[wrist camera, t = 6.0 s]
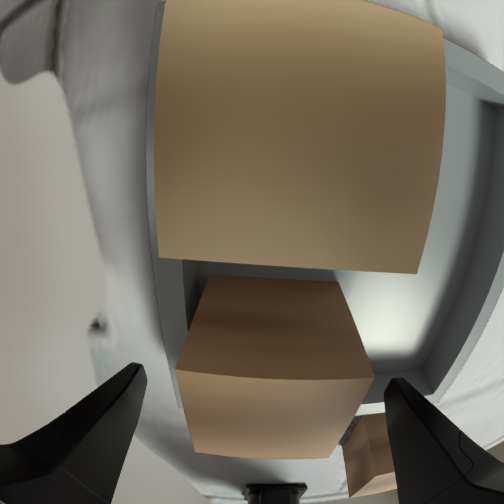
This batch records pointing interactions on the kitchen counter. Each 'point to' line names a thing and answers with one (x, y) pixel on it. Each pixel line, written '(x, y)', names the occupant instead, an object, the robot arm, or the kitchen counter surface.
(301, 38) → the block
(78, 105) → the kitchen counter surface
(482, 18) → the kitchen counter surface
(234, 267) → the tray
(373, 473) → the block
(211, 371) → the block
